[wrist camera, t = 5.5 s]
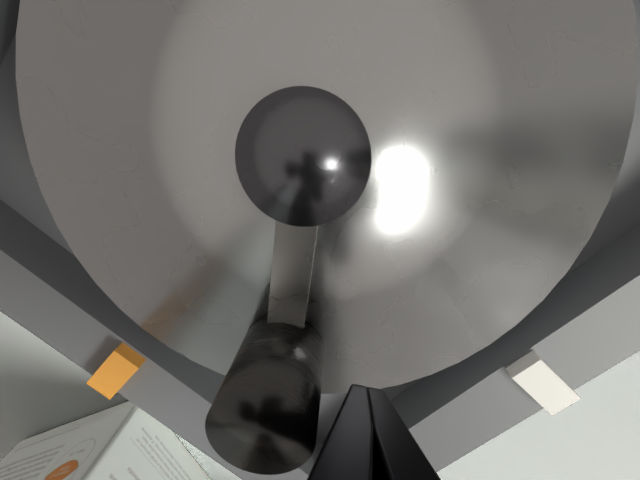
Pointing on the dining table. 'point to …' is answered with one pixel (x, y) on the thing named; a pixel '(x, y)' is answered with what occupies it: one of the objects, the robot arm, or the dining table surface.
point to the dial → (324, 180)
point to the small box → (103, 450)
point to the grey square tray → (408, 399)
